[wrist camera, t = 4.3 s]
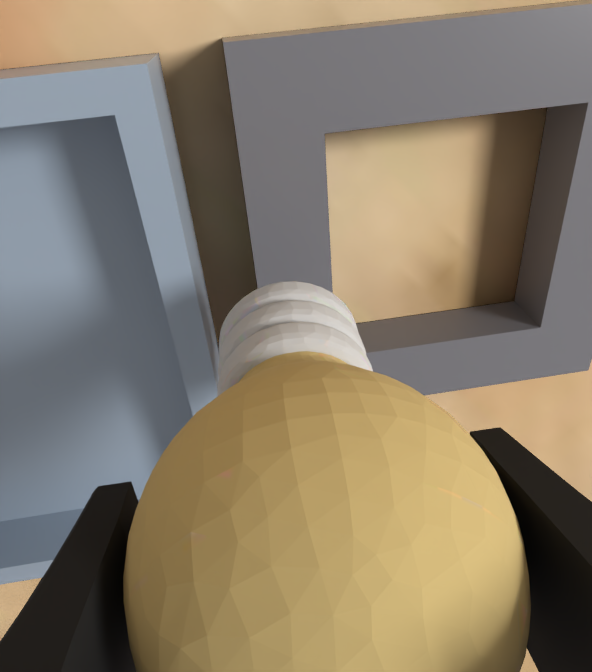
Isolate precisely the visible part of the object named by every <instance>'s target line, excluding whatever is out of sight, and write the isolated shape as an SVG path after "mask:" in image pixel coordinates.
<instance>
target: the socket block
mask: <svg viewBox="0 0 592 672" xmlns="http://www.w3.org/2000/svg"><path fill="white" fill-rule="evenodd" d="M222 40H223V48H224V55H225V62H226V69H227V76H228V83H229V90H230V97H231V104H232V111H233V118H234V125H235V133H236V140H237V147H238V154H239V161H240V168H241V175H242V182H243V189H244V196H245V203H246V211H247V218H248V225H249V232H250V239H251V246H252V253H253V260H254V267H255V274H256V281H257V288H261V287H263V286H266V285H269V284H274V283H278V282H288V281H297V282H305V283H310V284H313V285H316V286H319V287H322V288H324V289H326V290H328V291H330V292H332V273H331V253H330V233H329V213H328V193H327V174H326V154H325V133H333V132H342V131H350V130H359V129H367V128H376V127H384V126H393V125H401V124H410V123H418V122H426V121H435V120H443V119H452V118H460V117H469V116H477V115H486V114H494V113H503V112H511V111H520V110H528V109H537V108H545V107H548V108H547V114H546V120H545V126H544V131H543V137H542V143H541V149H540V155H539V160H538V166H537V172H536V178H535V184H534V189H533V195H532V201H531V207H530V212H529V218H528V224H527V230H526V236H525V241H524V247H523V253H522V259H521V265H520V270H519V276H518V282H517V288H516V293H515V299H514V301H512V302H505V303H498V304H491V305H484V306H477V307H470V308H463V309H456V310H449V311H441V312H434V313H427V314H420V315H413V316H406V317H399V318H392V319H385V320H378V321H371V322H364V323H357V324H356V326H357V329H358V333H359V335H360V338H361V340H362V343H363V345H364V348H365V350H366V356H367V358H368V360H369V362H370V363H371V366H372V369H373V372H376V373H379V374H383V375H386V376H388V377H391V378H393V379H395V380H398V381H400V382H402V383H404V384H406V385H408V386H410V387H412V388H413V389H415V390H416V391H418V392H420V393H421V394H422V395H430V394H436V393H443V392H449V391H456V390H462V389H469V388H476V387H482V386H489V385H495V384H502V383H508V382H515V381H521V380H528V379H535V378H541V377H548V376H554V375H561V374H567V373H574V372H580V371H587V370H588V369H589V366H590V362H591V359H592V0H579V1H570V2H560V3H551V4H541V5H532V6H522V7H512V8H503V9H493V10H484V11H474V12H465V13H455V14H446V15H436V16H426V17H417V18H407V19H398V20H388V21H379V22H369V23H359V24H350V25H340V26H331V27H321V28H312V29H302V30H293V31H283V32H273V33H264V34H254V35H245V36H235V37H226V38H222Z"/></svg>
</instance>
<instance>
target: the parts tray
mask: <svg viewBox="0 0 592 672" xmlns="http://www.w3.org/2000/svg"><path fill="white" fill-rule="evenodd" d="M218 364H219V348H218V343H217V338H216V333H215V328H214V323H213V318H212V313H211V308H210V303H209V298H208V294H207V289H206V284H205V279H204V274H203V269H202V264H201V259H200V254H199V249H198V244H197V239H196V234H195V229H194V225H193V220H192V215H191V210H190V205H189V200H188V195H187V190H186V185H185V180H184V175H183V170H182V165H181V160H180V156H179V151H178V146H177V141H176V136H175V131H174V126H173V121H172V116H171V111H170V106H169V101H168V96H167V92H166V87H165V82H164V77H163V72H162V67H161V62H160V57H159V53H153V54H144V55H134V56H125V57H115V58H106V59H96V60H87V61H77V62H68V63H58V64H49V65H39V66H30V67H20V68H11V69H2V70H0V584H6V583H12V582H18V581H24V580H30V579H36V578H42V577H43V576H44V574H45V573H46V571H47V570H48V568H49V566H50V565H51V563H52V562H53V560H54V558H55V557H56V555H57V553H58V552H59V550H60V548H61V547H62V545H63V543H64V542H65V540H66V538H67V537H68V535H69V533H70V532H71V530H72V528H73V526H74V525H75V523H76V521H77V520H78V518H79V516H80V514H81V513H82V511H83V509H84V507H85V506H86V504H87V502H88V500H89V499H90V497H91V495H92V493H93V491H94V490H95V489H96V488H97V487H98V486H103V485H110V484H116V483H123V482H130V481H131V482H132V485H133V488H134V491H135V494H136V496H137V499H138V502H139V500H140V498H141V495H142V493H143V490H144V488H145V485H146V483H147V481H148V479H149V477H150V475H151V473H152V470H153V469H154V467H155V465H156V464H157V462H158V460H159V459H160V457H161V455H162V454H163V452H164V451H165V449H166V448H167V446H168V445H169V444H170V442H171V441H172V440H173V438H174V437H175V436H176V435H177V433H178V432H179V431H180V430H181V429H182V428H183V427H184V426H185V425H186V424H187V422H188V421H189V420H190V419H191V418H192V417H193V416H194V415H195V414H196V412H198V411H199V410H200V409H202V408H203V407H204V406H206V405H207V404H208V403H210V402H211V401H212V400H214V399H215V398H216V397H217V385H218V381H219V376H218Z"/></svg>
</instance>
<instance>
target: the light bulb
mask: <svg viewBox="0 0 592 672" xmlns="http://www.w3.org/2000/svg"><path fill="white" fill-rule="evenodd" d="M218 376H219V381H218V385H217V397H216V398H215V399H214V400H212V401H211V402H210V403H208V404H207V405H206V406H204V407H203V408H202V409H200V410H199V411H198V412H196V414H195V415H194V416H193V417H192V418H191V419H190V420H189V421H188V422H187V424H186V425H185V426H184V427H183V428H182V429H181V430H180V431H179V432H178V433H177V435H176V436H175V437H174V438H173V440H172V441H171V442H170V444H169V445H168V446H167V448H166V449H165V451H164V452H163V454H162V455H161V457H160V459H159V460H158V462H157V464H156V465H155V467H154V469H153V470H152V473H151V475H150V477H149V479H148V481H147V483H146V485H145V488H144V490H143V493H142V495H141V498H140V500H139V503H138V505H137V508H136V510H135V514H134V517H133V521H132V524H131V528H130V532H129V535H128V542H127V550H126V558H125V566H124V574H123V592H124V608H125V615H126V623H127V630H128V638H129V645H130V650H131V653H132V657H133V661H134V664H135V668H136V671H137V672H520V669H521V666H522V664H523V661H524V658H525V654H526V648H527V642H528V636H529V628H530V613H531V600H530V584H529V573H528V567H527V560H526V554H525V548H524V542H523V538H522V534H521V530H520V527H519V523H518V519H517V516H516V514H515V512H514V510H513V507H512V505H511V503H510V501H509V498H508V496H507V494H506V492H505V489H504V487H503V485H502V483H501V481H500V478H499V476H498V474H497V472H496V470H495V469H494V467H493V466H492V464H491V463H490V461H489V459H488V458H487V456H486V455H485V453H484V452H483V450H482V449H481V448H480V446H479V445H478V444H477V443H476V442H475V441H474V439H473V438H472V437H471V436H470V435H469V434H468V433H467V432H466V430H465V429H464V428H463V427H462V426H461V425H460V424H459V423H458V422H457V421H456V420H455V419H454V418H453V417H452V416H451V415H450V414H449V413H448V412H446V411H445V410H444V409H442V408H441V407H439V406H438V405H437V404H435V403H434V402H432V401H431V400H430V399H428V398H427V397H425V396H424V395H422V394H421V393H420V392H418V391H416V390H415V389H413V388H412V387H410V386H408V385H406V384H404V383H402V382H400V381H398V380H395V379H393V378H391V377H388V376H386V375H383V374H379V373H376V372H373V369H372V366H371V363H370V362H369V360H368V358H367V356H366V350H365V348H364V345H363V343H362V340H361V338H360V335H359V333H358V329H357V326H356V323H355V320H354V318H353V316H352V313H351V312H350V310H349V309H348V307H347V306H346V304H345V303H344V302H342V301H341V300H340V299H339V298H338V297H337V296H336V295H334V294H333V293H332V292H330V291H328V290H326V289H324V288H322V287H319V286H316V285H313V284H310V283H305V282H297V281H288V282H278V283H274V284H269V285H266V286H263V287H261V288H258V289H256V290H254V291H252V292H251V293H249V294H248V295H246V296H245V297H243V298H242V299H241V300H240V301H239V302H238V303H237V304H236V305H235V306H234V307H233V308H232V309H231V311H230V312H229V313H228V315H227V317H226V319H225V320H224V322H223V325H222V328H221V331H220V338H219V364H218Z"/></svg>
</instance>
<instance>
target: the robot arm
mask: <svg viewBox="0 0 592 672" xmlns="http://www.w3.org/2000/svg"><path fill="white" fill-rule="evenodd" d="M470 436H471V437H472V438H473V439H474V441H475V442H476V443H477V444H478V445H479V446H480V448H481V449H482V450H483V452H484V453H485V455H486V456H487V458H488V459H489V461H490V463H491V464H492V466H493V467H494V469H495V470H496V472H497V474H498V476H499V478H500V481H501V483H502V485H503V487H504V489H505V492H506V494H507V496H508V498H509V501H510V503H511V505H512V507H513V510H514V512H515V514H516V516H517V519H518V523H519V527H520V530H521V534H522V538H523V542H524V548H525V554H526V560H527V567H528V573H529V584H530V600H531V613H530V628H529V636H528V642H527V649H528V651H529V653H530V655H531V657H532V659H533V661H534V663H535V665H536V667H537V669H538V671H539V672H592V502H591V501H590V500H589V499H587V498H586V497H585V496H583V495H582V494H581V493H580V492H578V491H577V490H576V489H575V488H573V487H572V486H571V485H570V484H568V483H567V482H566V481H565V480H563V479H562V478H561V477H560V476H559V475H557V474H556V473H555V472H554V471H552V470H551V469H550V468H549V467H548V466H546V465H545V464H544V463H543V462H541V461H540V460H539V459H538V458H537V457H535V456H534V455H533V454H532V453H531V452H529V451H528V450H527V449H526V448H525V447H523V446H522V445H521V444H520V443H519V442H517V441H516V440H515V439H514V438H513V437H511V436H510V435H509V434H508V433H506V432H505V431H504V430H503V429H502V428H493V429H486V430H479V431H472V432H470ZM138 503H139V502H138V499H137V496H136V494H135V491H134V488H133V485H132V482H131V481H130V482H123V483H116V484H110V485H103V486H98V487H97V488H96V489H95V490H94V491H93V493H92V495H91V497H90V499H89V500H88V502H87V504H86V506H85V507H84V509H83V511H82V513H81V514H80V516H79V518H78V520H77V521H76V523H75V525H74V526H73V528H72V530H71V532H70V533H69V535H68V537H67V538H66V540H65V542H64V543H63V545H62V547H61V548H60V550H59V552H58V553H57V555H56V557H55V558H54V560H53V562H52V563H51V565H50V566H49V568H48V570H47V571H46V573H45V574H44V576H43V577H42V579H41V581H40V582H39V584H38V585H37V587H36V589H35V590H34V592H33V593H32V595H31V596H30V598H29V600H28V601H27V603H26V604H25V606H24V607H23V609H22V610H21V612H20V613H19V615H18V616H17V618H16V619H15V621H14V622H13V624H12V625H11V627H10V628H9V629H8V631H7V632H6V634H5V635H4V637H3V638H2V640H1V641H0V672H137V671H136V668H135V664H134V661H133V657H132V653H131V650H130V645H129V638H128V630H127V623H126V615H125V608H124V592H123V574H124V566H125V558H126V550H127V542H128V535H129V532H130V528H131V524H132V521H133V517H134V514H135V510H136V508H137V505H138Z"/></svg>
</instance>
